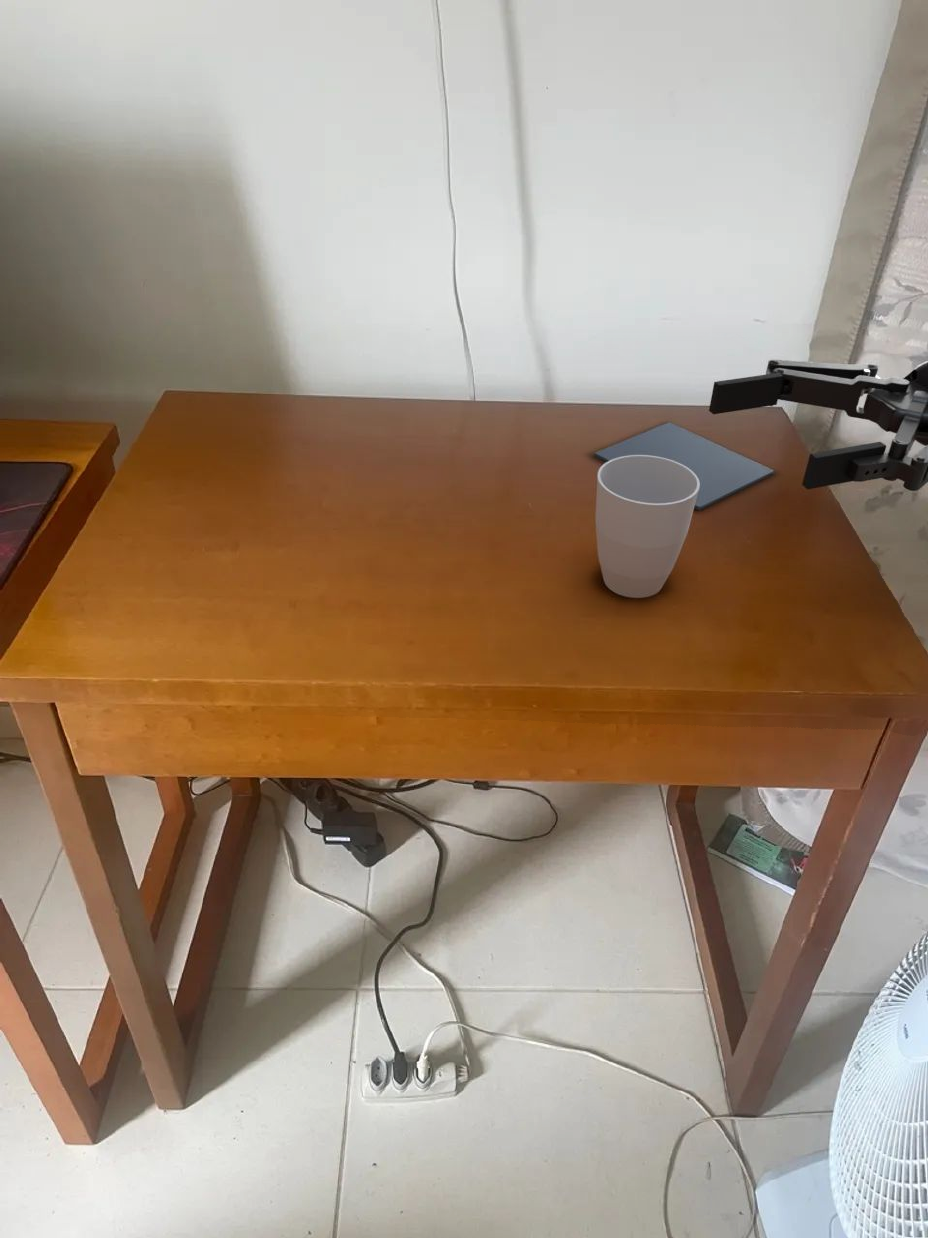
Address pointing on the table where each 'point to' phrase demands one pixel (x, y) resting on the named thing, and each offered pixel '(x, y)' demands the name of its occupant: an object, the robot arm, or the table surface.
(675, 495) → the cup
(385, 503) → the table surface
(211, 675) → the table surface
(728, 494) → the mat
